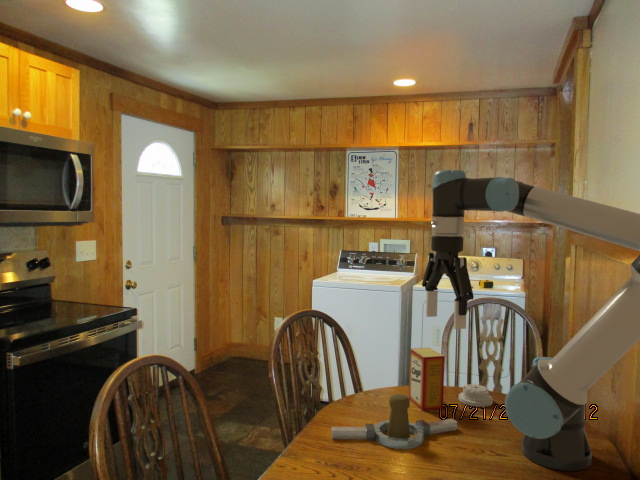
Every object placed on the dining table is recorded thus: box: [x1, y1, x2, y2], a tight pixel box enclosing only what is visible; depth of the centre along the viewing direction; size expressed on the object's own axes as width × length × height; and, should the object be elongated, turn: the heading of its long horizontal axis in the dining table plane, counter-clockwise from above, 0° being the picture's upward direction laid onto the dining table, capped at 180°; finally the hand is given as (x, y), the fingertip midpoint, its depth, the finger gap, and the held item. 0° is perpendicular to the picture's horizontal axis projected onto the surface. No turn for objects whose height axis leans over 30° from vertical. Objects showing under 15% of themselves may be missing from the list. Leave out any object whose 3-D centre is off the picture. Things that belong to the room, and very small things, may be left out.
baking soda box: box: [408, 347, 446, 412], centre depth 153 cm, size 10×6×16 cm
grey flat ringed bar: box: [331, 418, 458, 450], centre depth 131 cm, size 33×13×3 cm, turn 91°
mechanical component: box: [458, 383, 494, 408], centre depth 156 cm, size 10×4×10 cm
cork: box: [386, 393, 411, 438], centre depth 130 cm, size 6×6×11 cm
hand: (444, 322), depth 125 cm, fingers open, 13 cm apart
